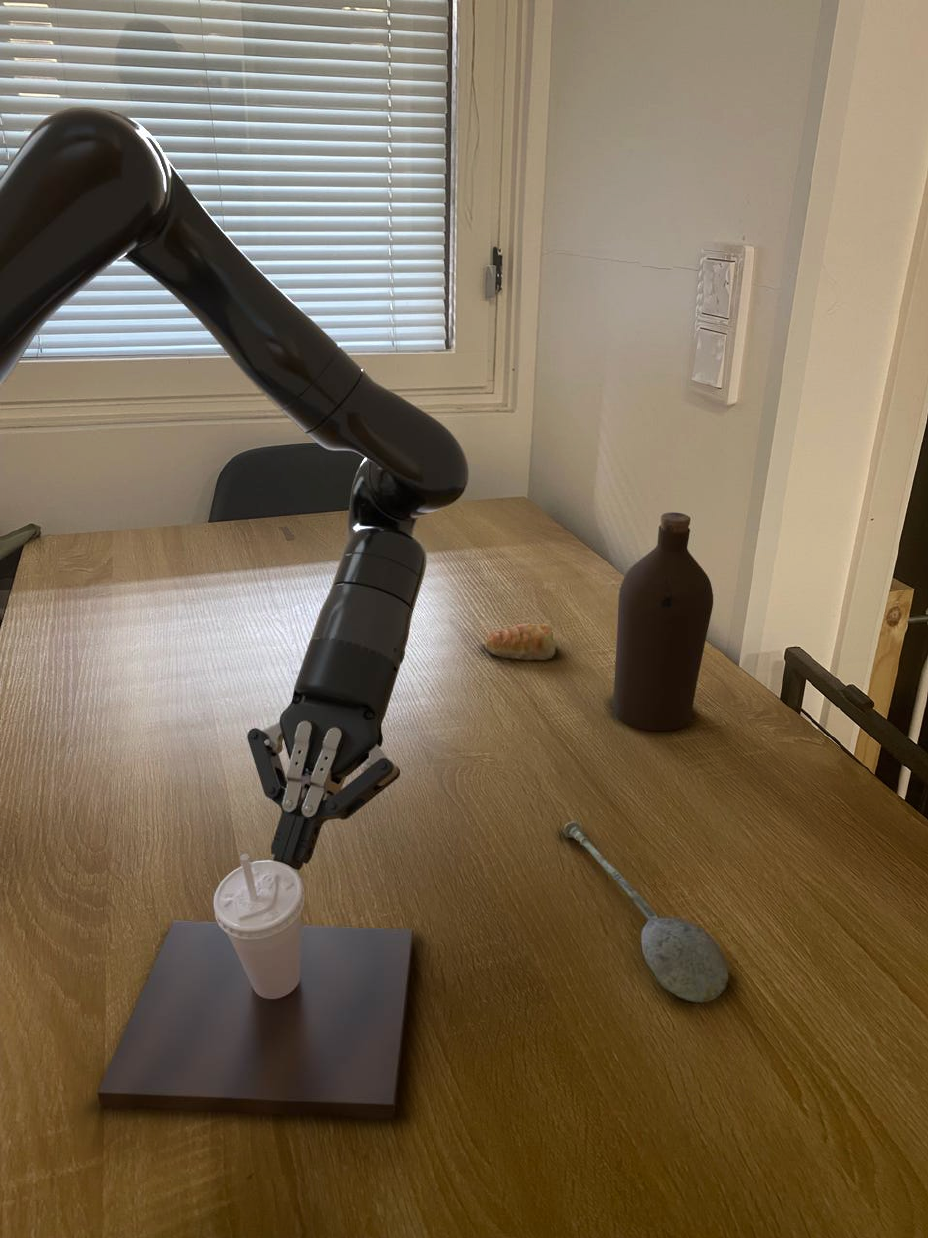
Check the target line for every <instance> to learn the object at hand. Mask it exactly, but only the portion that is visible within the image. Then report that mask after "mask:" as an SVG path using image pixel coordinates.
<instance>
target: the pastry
mask: <svg viewBox="0 0 928 1238" xmlns="http://www.w3.org/2000/svg"><path fill="white" fill-rule="evenodd" d="M484 645H485V646H484V648H485V649H486V650H487V651H488V652H490V653H491V654H492V655H495V656H497V658H498V657H501V658H505V659H506V658H508V659H512V660H523V661H533V660H537V661H546V660H550V659H553V656H555V654H556V645H555V640H554V633H553V628H552V625H551V624H549V623H547V622H543V623H541V624H538V623H524V622H521V623H518V624H516V625H515V626H511V627H508V628H502V629H499V630H497V631H494V632H491V633H490V634H488V636H487V638H486V639H485V643H484Z"/></svg>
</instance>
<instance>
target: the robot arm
mask: <svg viewBox="0 0 928 1238" xmlns="http://www.w3.org/2000/svg"><path fill="white" fill-rule="evenodd" d="M12 158H13V159H12V160H11V161H10V162H9V164H8V166H7V167H6V168H5V170H4V172H3V173H2V174H1V176H0V390H1V388H2V387H3V386H4V385H5V383H6V382H7V381H8V379H9V378H10V376H11V375H12V373H13V372H14V371H15V369H16V368H17V366H18V364H19V362H20V361H21V359H22V357H23V356H24V355H25V352H26V351H27V349H28V348H29V346H30V344H31V343H32V342H33V340H34V338H35V337H36V335H37V334H38V333H39V332H40V331H41V328H43V326H44V325H45V323H47V321H49V319H50V318H52V316H53V315H54V314H55V313H56V312H57V311H58V310H59V309H60V308H61V307H62V306H63V305H65V304H66V303H67V302H68V301H69V300H71V299H72V298H73V297H74V296H75V295H77V293H79V292H80V291H81V290H82V289H83V288H84V287H86V286H87V285H88V284H89V283H91V282H92V280H94V279H95V278H97V277H98V276H99V275H101V273H103V272H104V271H106V269H108V268H109V267H110V266H112V265H113V264H115V263H116V262H117V261H118V260H120V259H121V258H124V259H126V261H127V260H128V261H129V262H130V263H132V264H134V265H135V266H136V267H137V268H139V269H140V270H142V271H143V272H144V273H146V274H147V275H148V276H150V277H151V278H152V279H154V280H155V281H156V282H157V283H159V284H160V285H161V286H162V287H163V288H165V289H166V290H167V291H168V292H169V293H170V294H172V296H174V297H175V298H176V299H177V300H178V301H179V302H180V303H181V304H182V305H183V306H184V307H185V308H186V309H187V310H188V311H189V312H190V313H191V314H192V315H193V316H194V317H195V318H196V319H197V320H198V321H199V323H201V324H202V325H203V326H204V328H205V329H206V331H208V332H209V333H210V335H211V336H212V337H213V339H215V341H216V342H217V343H218V344H219V345H220V346H221V348H222V349H223V350H224V352H225V353H226V354H227V355H228V356H229V357H230V358H231V360H232V361H233V362H234V363H235V365H236V366H237V367H238V368H239V369H240V371H241V372H242V373H243V374H244V375H245V376H246V378H247V379H248V380H249V381H250V382H251V383H252V384H253V385H254V386H255V387H256V388H257V389H258V390H259V392H261V394H262V395H263V396H265V398H267V399H268V400H269V401H270V402H271V403H272V405H274V406H275V407H276V408H277V409H278V410H279V411H281V412H282V413H283V414H284V415H285V416H286V417H287V418H288V419H289V420H290V421H292V422H293V424H295V425H296V426H297V427H298V428H299V429H300V430H301V431H303V432H304V433H305V434H306V435H307V436H308V437H309V439H311V440H312V441H314V442H315V443H316V444H318V445H319V446H321V447H322V448H323V449H326V450H328V451H337V452H339V451H348V452H354V453H357V454H358V455H360V456H362V457H363V460H362V462H361V463H360V465H359V467H358V468H357V471H356V473H355V476H354V478H353V482H352V486H351V492H350V501H349V507H348V517H347V528H346V529H347V531H346V532H347V533H346V534H347V535H346V544H345V547H344V549H343V552H342V555H341V557H340V559H339V563H338V566H337V568H336V572H335V574H334V577H333V581H332V584H331V587H330V590H329V592H328V595H327V596H326V598H325V600H324V603H323V604H322V607H321V609H320V611H319V613H318V615H317V618H316V621H315V624H314V628H313V631H312V634H311V636H310V639H309V642H308V645H307V648H306V650H305V653H304V658H303V660H302V663H301V665H300V668H299V672H298V675H297V677H296V681H295V684H294V687H293V691H292V693H293V694H292V699H291V702H290V703H289V705H288V706H287V707H286V708H285V709H284V710H283V712H281V715H280V717H279V720H278V721H279V722H277V723H275V724H272V725H270V726H268V727H266V728H264V729H262V730H261V729H259V728H257V727H254V728H252V729H250V730H249V731H248V733H247V737H246V738H247V741H248V745H249V748H250V751H251V755H252V758H253V761H254V764H255V768H256V770H257V774H258V777H259V780H260V783H261V787H262V791H263V793H264V794H263V795H265V797H266V798H268V799H270V800H271V801H272V802H274V803H275V804H276V805H278V806H279V807H280V809H281V815H280V818H279V820H278V824H277V827H276V830H275V833H274V836H273V839H272V842H271V845H270V854H271V855H273V861H277V862H281V863H284V864H286V865H288V866H290V867H292V868H293V869H294V870H295V871H300V870H301V869H302V868H303V866H304V864H306V865H307V864H309V862H310V861H311V860H312V859H313V858H312V857H313V855H314V851H315V848H316V845H317V841H318V839H319V835H320V832H321V829H322V827H323V825H324V824H325V822H327V821H329V820H337V819H338V820H343V821H345V820H347V819H349V818H350V817H351V816H353V815H354V814H355V813H357V811H359V810H361V808H363V807H364V806H366V804H368V803H369V802H370V801H372V799H374V798H375V797H377V796H378V795H379V794H380V793H381V792H383V791H384V790H385V789H386V788H388V787H389V786H390V785H392V784H393V783H394V782H395V781H396V780H398V778H400V775H401V769H400V767H399V766H398V765H396V763H395V762H393V761H392V760H391V759H390V758H389V756H388V755H387V753H386V752H385V751H384V750H383V748H382V746H383V742H384V736H383V731H382V730H383V729H382V725H383V721H384V719H385V717H386V715H387V710H388V708H389V704H390V701H391V699H392V694H393V692H394V688H395V685H396V681H397V678H398V674H399V671H400V668H401V665H402V663H403V662H404V659H405V656H406V647H407V645H408V640H409V636H410V629H411V623H412V618H413V614H414V611H415V607H416V604H417V600H418V597H419V595H420V590H421V587H422V585H423V581H424V577H425V574H426V570H427V562H428V561H427V559H428V558H427V557H428V556H427V553H426V549H425V547H424V546H423V544H422V543H421V542H420V541H419V540H417V538H415V537H414V532H415V527H416V524H417V522H418V520H419V518H420V517H421V516H425V515H428V514H431V513H433V512H437V511H440V510H443V509H445V508H448V507H450V506H452V505H453V504H455V503H456V502H457V501H459V500H460V499H461V497H463V495H464V494H465V492H466V490H467V488H468V486H469V482H470V466H469V465H470V464H469V462H468V458H467V456H466V452H465V451H464V449H463V447H462V445H461V443H460V442H459V440H458V439H457V438H456V437H455V435H454V434H453V433H452V432H451V431H450V430H449V428H447V427H446V426H445V425H444V424H442V422H440V421H438V419H436V418H434V416H432V415H430V414H429V413H427V412H426V411H424V410H422V409H421V408H419V407H417V406H416V405H414V404H412V402H409V401H408V400H406V399H405V398H403V397H401V396H400V395H398V394H397V393H395V392H394V391H392V390H389V389H387V388H386V387H384V386H382V385H381V384H379V383H378V382H377V381H375V380H374V379H372V377H371V376H370V375H369V373H367V372H366V371H365V370H364V369H363V368H362V367H361V366H360V365H359V364H358V363H357V362H356V361H355V360H354V359H353V358H352V357H351V356H350V355H349V354H348V352H346V351H345V350H344V349H343V348H342V347H341V346H340V345H339V344H338V343H337V342H336V341H334V340H333V338H332V337H331V336H330V335H329V334H327V333H326V331H324V330H323V328H321V327H320V326H319V325H318V324H317V323H316V322H315V321H314V320H313V319H312V318H311V317H310V316H308V315H307V314H306V313H305V312H304V311H303V310H302V309H301V308H300V307H299V306H298V305H297V304H296V303H294V302H293V301H292V300H291V299H290V298H289V296H287V295H286V294H285V293H284V292H283V291H281V289H280V288H278V287H277V286H276V285H275V284H274V283H273V282H272V281H271V280H270V279H269V278H268V277H267V276H266V275H265V274H264V273H263V272H262V271H261V270H260V269H259V268H258V267H257V266H256V265H255V264H254V263H253V262H252V261H251V260H250V259H249V258H248V257H247V256H246V255H245V254H244V253H243V251H241V250H240V248H239V247H238V246H236V244H235V243H234V242H233V241H232V240H231V238H230V237H229V236H228V235H227V234H226V233H225V232H224V231H223V229H222V228H221V227H220V226H219V225H218V223H217V222H216V221H215V220H214V219H213V218H212V217H211V215H210V214H209V213H208V211H207V210H206V208H204V206H203V205H202V204H201V202H199V200H198V199H197V197H196V196H195V195H194V194H193V192H192V191H191V189H190V188H189V187H188V185H187V184H186V183H185V181H184V180H183V179H182V177H181V176H180V175H179V173H178V172H177V170H176V169H175V167H173V165H172V163H171V162H170V161H169V160H168V158H167V157H166V155H165V153H164V152H163V150H162V148H161V147H160V145H159V143H158V142H157V141H156V139H155V138H154V137H153V136H152V134H151V133H150V132H149V131H147V130H146V129H145V128H144V127H143V126H142V125H141V124H139V123H138V122H137V121H135V120H133V119H131V118H130V117H128V116H126V115H124V114H121V113H119V112H115V111H113V110H110V109H109V110H108V109H103V108H97V107H91V106H75V107H74V106H73V107H68V108H66V109H61V110H58V111H57V112H55V113H53V114H50V115H49V116H47V117H46V118H44V119H43V120H42V121H41V122H40V123H38V125H37V126H36V127H34V128H33V130H32V131H31V132H30V133H29V135H28V136H27V137H26V139H25V140H24V142H23V143H22V145H21V146H20V147H19V149H18V151H17V152H16V154H15V155H14V157H12ZM283 742H284V745H283ZM284 746H285V749H286V753H287V756H288V759H289V762H288V767H287V771H286V773H285V770H284V767H283V763H282V760H281V757H280V754H281V752H283V748H284ZM362 765H363V766H362ZM361 766H362V773H360V774H359V775H358V776H357V777H355V778H354V779H353V780H352V781H351V782H349V783H348V784H347V785H345V786H344V787H343V785H344V783H345V781H346V777H348V776H350V775H352V773H353V772H354V771H356V770H357V769H358V768H359V767H361Z"/></svg>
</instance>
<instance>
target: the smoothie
mask: <svg viewBox="0 0 928 1238" xmlns="http://www.w3.org/2000/svg"><path fill="white" fill-rule="evenodd" d="M240 862H241V863H240V864H241V866H239V867H237V868H236V869H234V870H233V871H231V872H230V873H228V874H227V876H225V877H224V878H223V879H222V880H221V882H220V883H219V885H218V886H217V887H216V890H215V893H214V896H213V901H212V902H213V903H212V904H213V910H214V917H215V919H216V922H218V925H219V926H220V927H221V928H222V929H223V930H224V931H225V932H226V933H227V934H228V936H229V938H230V940H231V942H232V944H233V946H234V948H235V951H236V953H237V955H238V957H239V959H240V961H241V963H242V965H243V968H244V970H245V972H246V974H247V976H248V978H249V980H250V982H251V985H252V987H253V989H254V991H255V992H256V993H257V994H258V995H259V996H261V997H263V998H266V999H277V998H281V997H284V996H286V995H288V994H289V993H290V992H292V991H293V990H294V989H295V987H296V986H297V984H298V983H299V980H300V955H301V926H302V925H301V924H302V920H301V919H302V911H303V909H304V906H305V900H306V893H305V887H304V885H303V881H302V879H301V876H300V874H299V873H298V872H297V870H296V869H293V868H292V867H290V866H288V865H286V864H284V863H281V862H277V861H274V860H269V859H268V860H257V861H253V862H251V860H250V856H249V854H248V853H243V854H242V855H240Z"/></svg>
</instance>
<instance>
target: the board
mask: <svg viewBox="0 0 928 1238" xmlns="http://www.w3.org/2000/svg"><path fill="white" fill-rule="evenodd" d="M413 947H414V930H413V929H407V928H406V929H405V928H403V929H402V928H400V929H399V928H377V927H376V928H375V927H352V926H348V927H347V926H325V925H301V955H300V980H299V983H298V984H297V986H296V987H295V989H294V990H293V991H292V992H290V993H289V994H288V995H286V996H284V997H281V998H277V999H266V998H263V997H261V996H259V995H258V994H257V993H256V992H255V991H254V989H253V987H252V985H251V982H250V980H249V978H248V976H247V974H246V972H245V970H244V968H243V965H242V963H241V961H240V959H239V957H238V955H237V953H236V951H235V948H234V946H233V944H232V942H231V940H230V938H229V936H228V934H227V933H226V932H225V931H224V930H223V929H222V928H221V927H220V926H219V925H218V922H217V921H216V922H215V921H192V920H191V921H190V920H172V922H171V924H170V927H169V929H168V931H167V934H166V935H165V938H164V940H163V942H162V944H161V947H160V950H159V952H158V953H157V956H156V958H155V960H154V963H153V966H152V968H151V970H150V972H149V975H148V977H147V979H146V981H145V983H144V986H143V989H142V991H141V993H140V994H139V997H138V1000H137V1001H136V1004H135V1006H134V1008H133V1011H132V1013H131V1015H130V1018H129V1020H128V1022H127V1024H126V1027H125V1029H124V1032H123V1034H122V1036H121V1038H120V1041H119V1043H118V1044H117V1047H116V1049H115V1052H114V1054H113V1056H112V1059H111V1061H110V1063H109V1065H108V1068H107V1070H106V1073H105V1075H104V1077H103V1079H102V1081H101V1084H100V1086H99V1088H98V1091H97V1096H98V1101H99V1106H100V1108H110V1109H111V1108H114V1109H133V1110H134V1109H135V1110H136V1109H137V1110H138V1109H139V1110H160V1111H183V1112H184V1111H187V1112H206V1113H207V1112H209V1113H232V1114H233V1113H237V1114H258V1115H259V1114H260V1115H284V1116H309V1117H330V1118H331V1117H333V1118H352V1119H353V1118H355V1119H356V1118H357V1119H378V1120H379V1119H382V1120H394V1119H395V1116H396V1107H397V1097H398V1087H399V1079H400V1071H401V1069H400V1068H401V1062H402V1061H401V1059H402V1051H403V1050H402V1049H403V1042H404V1041H403V1039H404V1031H405V1022H406V1012H407V1003H408V996H409V995H408V994H409V992H408V991H409V985H410V975H411V966H412V965H411V964H412V956H413Z"/></svg>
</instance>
